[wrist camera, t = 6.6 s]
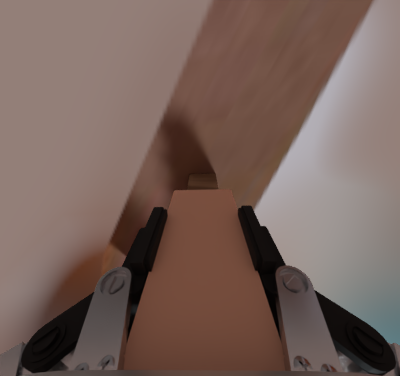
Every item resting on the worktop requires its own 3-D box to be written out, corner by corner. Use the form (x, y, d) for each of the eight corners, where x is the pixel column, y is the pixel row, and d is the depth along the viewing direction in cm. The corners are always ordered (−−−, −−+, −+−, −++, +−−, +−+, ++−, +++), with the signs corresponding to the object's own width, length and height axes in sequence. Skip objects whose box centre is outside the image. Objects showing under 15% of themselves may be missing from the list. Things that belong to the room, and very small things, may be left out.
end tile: (174, 190, 13) (116, 376, 4) (231, 189, 13) (292, 378, 4) (176, 206, 14) (130, 392, 5) (229, 205, 14) (279, 394, 5)
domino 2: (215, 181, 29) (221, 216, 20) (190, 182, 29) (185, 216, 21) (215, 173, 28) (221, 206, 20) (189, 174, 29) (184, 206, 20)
